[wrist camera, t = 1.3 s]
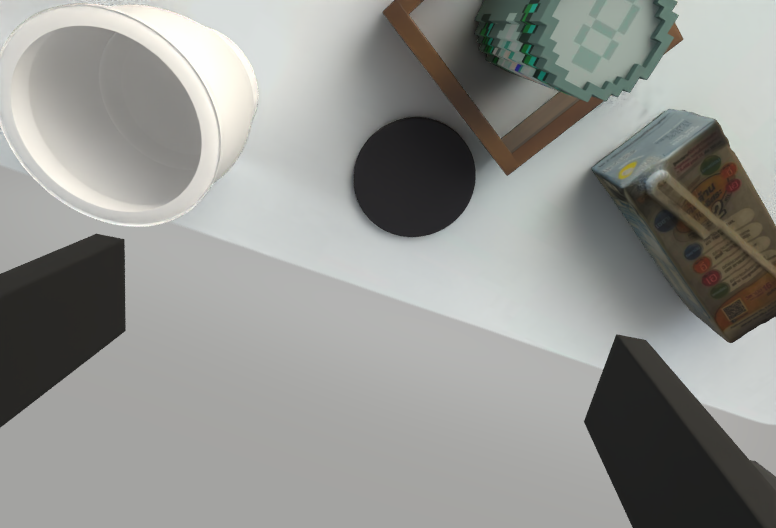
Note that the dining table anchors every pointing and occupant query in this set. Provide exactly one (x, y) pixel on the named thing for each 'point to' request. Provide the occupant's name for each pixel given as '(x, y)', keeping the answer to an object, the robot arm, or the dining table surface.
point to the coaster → (414, 177)
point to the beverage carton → (698, 219)
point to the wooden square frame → (504, 151)
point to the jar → (125, 108)
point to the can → (577, 42)
